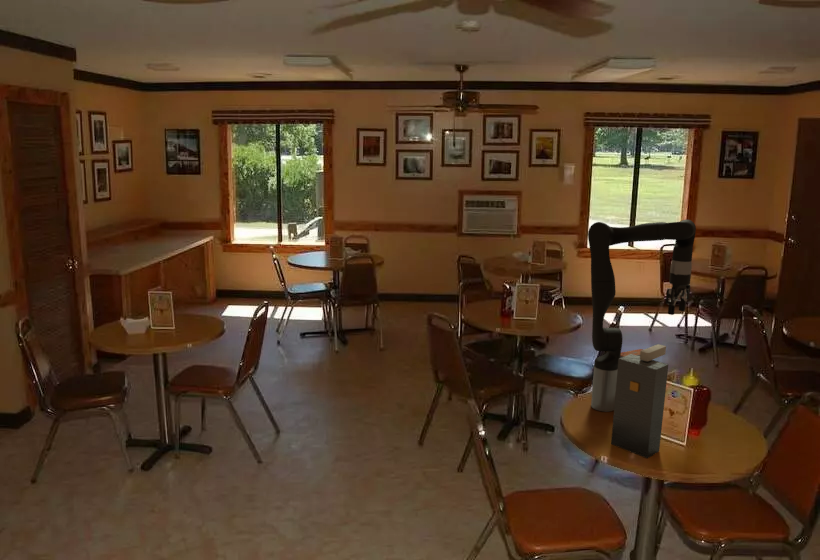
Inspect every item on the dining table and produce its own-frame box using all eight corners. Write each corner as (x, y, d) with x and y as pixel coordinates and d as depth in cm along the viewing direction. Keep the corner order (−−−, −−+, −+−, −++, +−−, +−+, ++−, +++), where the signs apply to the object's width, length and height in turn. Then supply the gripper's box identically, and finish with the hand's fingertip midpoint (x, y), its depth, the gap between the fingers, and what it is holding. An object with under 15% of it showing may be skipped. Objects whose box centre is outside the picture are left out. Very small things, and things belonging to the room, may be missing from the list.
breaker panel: (623, 437, 241) (630, 353, 234) (659, 451, 230) (668, 364, 223) (610, 444, 235) (617, 358, 228) (646, 459, 225) (655, 370, 218)
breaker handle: (657, 352, 235) (658, 344, 234) (665, 354, 233) (666, 346, 232) (639, 359, 227) (640, 351, 226) (647, 361, 225) (648, 353, 224)
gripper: (680, 268, 262) (676, 307, 265) (662, 272, 253) (658, 313, 256) (698, 271, 256) (694, 311, 260) (680, 275, 247) (676, 317, 251)
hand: (676, 312), depth 258 cm, fingers open, 8 cm apart
